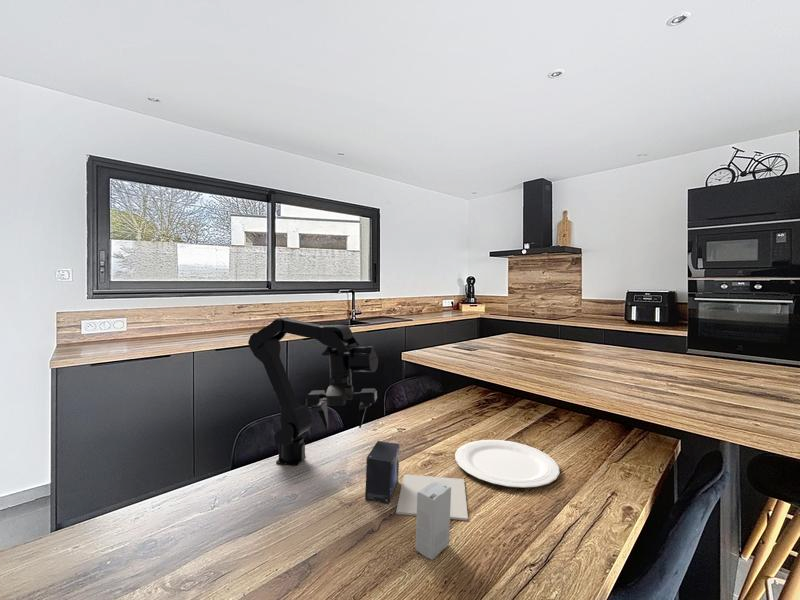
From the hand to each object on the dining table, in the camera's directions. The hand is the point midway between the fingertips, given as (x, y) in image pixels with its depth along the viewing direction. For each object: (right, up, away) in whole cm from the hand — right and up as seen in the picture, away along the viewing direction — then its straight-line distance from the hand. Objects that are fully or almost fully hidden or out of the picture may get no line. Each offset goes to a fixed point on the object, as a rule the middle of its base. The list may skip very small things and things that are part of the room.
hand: (343, 427), depth 104 cm
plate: (+46, -13, +6) cm, 48 cm away
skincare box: (+22, -14, -29) cm, 39 cm away
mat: (+23, -13, -11) cm, 29 cm away
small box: (+11, -13, -9) cm, 19 cm away
